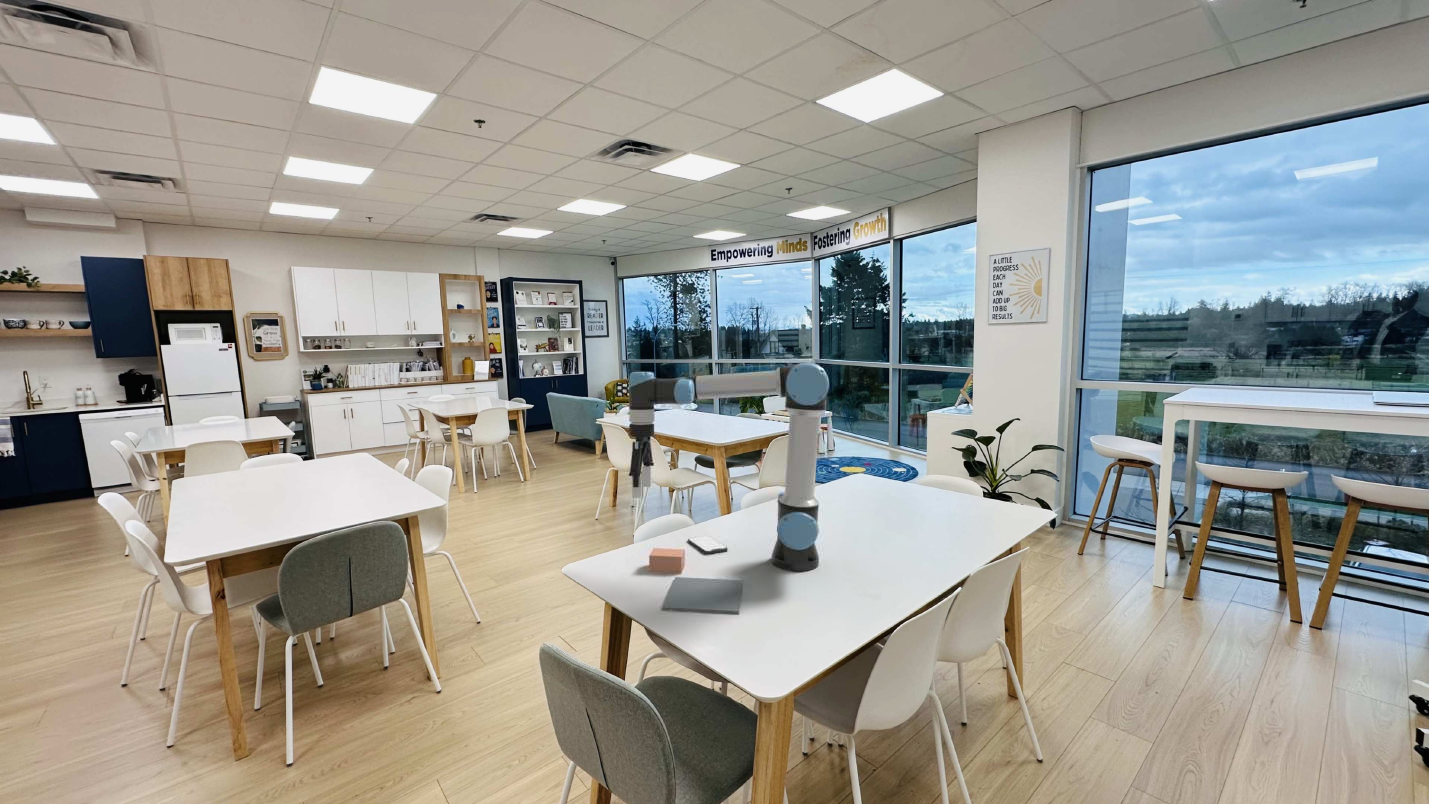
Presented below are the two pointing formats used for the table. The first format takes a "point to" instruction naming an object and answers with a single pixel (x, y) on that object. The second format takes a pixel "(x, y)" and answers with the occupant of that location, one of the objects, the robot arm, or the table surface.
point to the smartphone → (707, 545)
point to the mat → (704, 595)
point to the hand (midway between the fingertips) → (641, 492)
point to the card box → (667, 560)
